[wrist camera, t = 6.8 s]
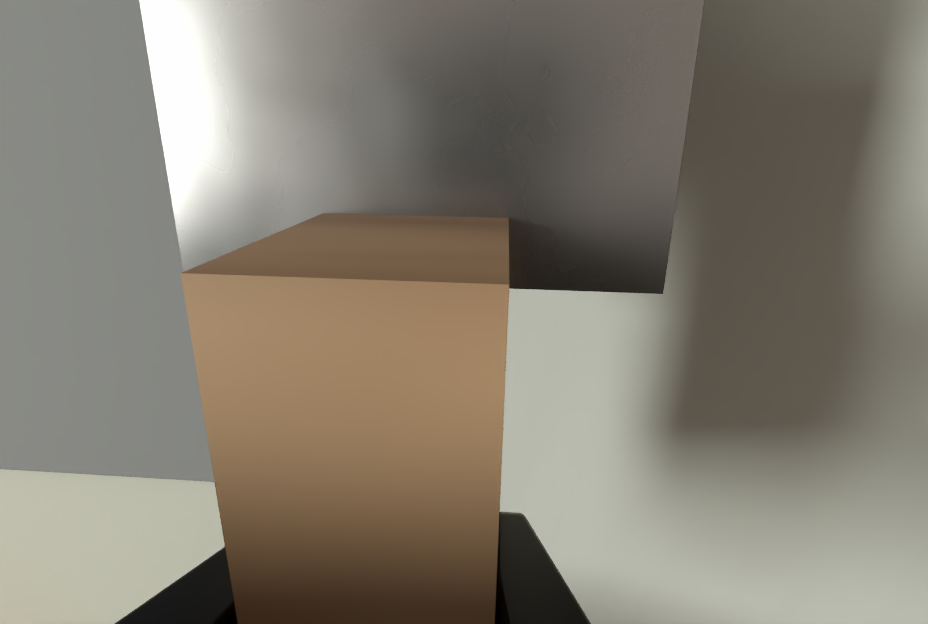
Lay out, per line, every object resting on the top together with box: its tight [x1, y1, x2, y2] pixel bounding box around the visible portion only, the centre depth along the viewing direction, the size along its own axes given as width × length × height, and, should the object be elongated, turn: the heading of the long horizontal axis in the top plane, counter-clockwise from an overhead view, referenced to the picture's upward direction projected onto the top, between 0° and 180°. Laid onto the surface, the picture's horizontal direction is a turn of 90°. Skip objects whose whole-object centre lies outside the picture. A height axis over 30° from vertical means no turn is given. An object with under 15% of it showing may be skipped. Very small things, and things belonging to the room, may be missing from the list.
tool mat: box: [0, 0, 215, 482], centre depth 16 cm, size 22×13×1 cm, turn 179°
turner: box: [139, 0, 704, 624], centre depth 7 cm, size 14×7×4 cm, turn 179°
